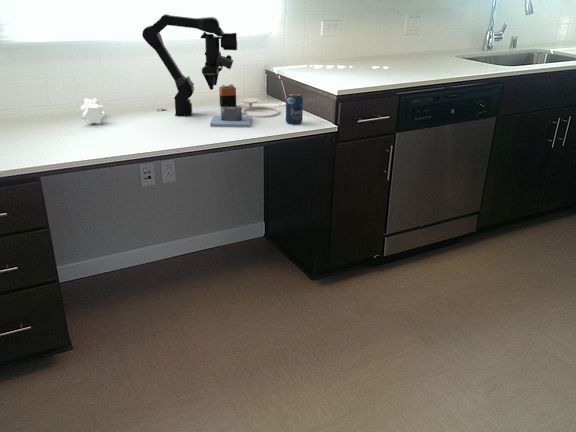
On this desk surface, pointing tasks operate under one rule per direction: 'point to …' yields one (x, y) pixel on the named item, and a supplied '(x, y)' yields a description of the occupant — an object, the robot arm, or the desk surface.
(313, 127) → the desk surface
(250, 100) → the hand towel holder
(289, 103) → the soda can
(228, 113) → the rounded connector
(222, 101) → the battery
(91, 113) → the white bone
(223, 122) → the pad
